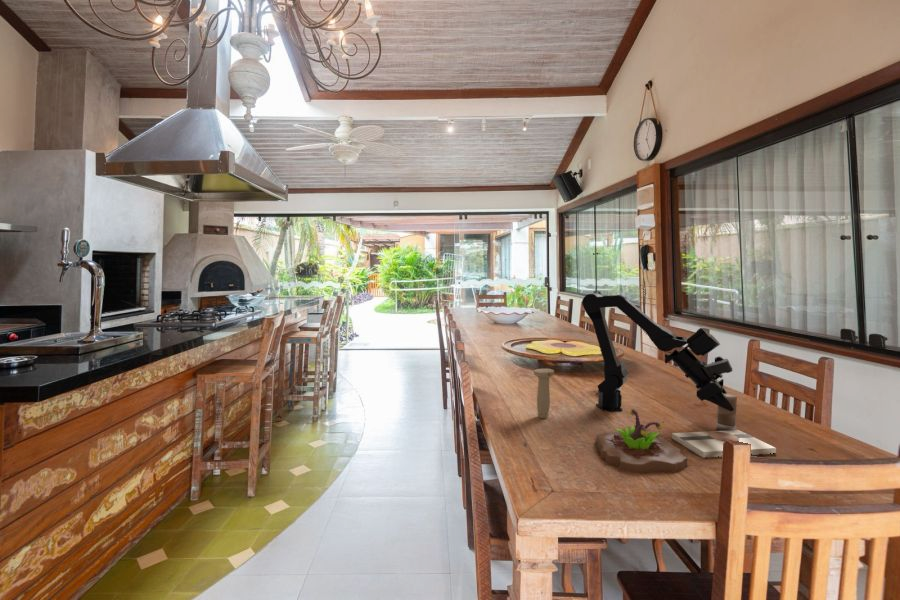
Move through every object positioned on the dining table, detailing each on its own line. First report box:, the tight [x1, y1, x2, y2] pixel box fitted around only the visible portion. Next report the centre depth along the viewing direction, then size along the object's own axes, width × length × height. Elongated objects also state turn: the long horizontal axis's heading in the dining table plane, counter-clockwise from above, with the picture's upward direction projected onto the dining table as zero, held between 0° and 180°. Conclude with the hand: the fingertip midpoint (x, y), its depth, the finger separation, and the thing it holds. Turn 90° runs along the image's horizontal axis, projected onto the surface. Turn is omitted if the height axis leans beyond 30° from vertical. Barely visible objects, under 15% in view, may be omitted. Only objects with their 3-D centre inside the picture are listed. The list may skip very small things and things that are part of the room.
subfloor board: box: [671, 429, 777, 459], centre depth 111 cm, size 20×12×2 cm, turn 96°
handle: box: [533, 368, 555, 420], centre depth 132 cm, size 5×6×15 cm
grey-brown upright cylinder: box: [716, 393, 738, 431], centre depth 122 cm, size 5×5×10 cm
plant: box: [595, 408, 688, 474], centre depth 106 cm, size 20×20×11 cm
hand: (732, 408), depth 121 cm, fingers closed on grey-brown upright cylinder, 4 cm apart
